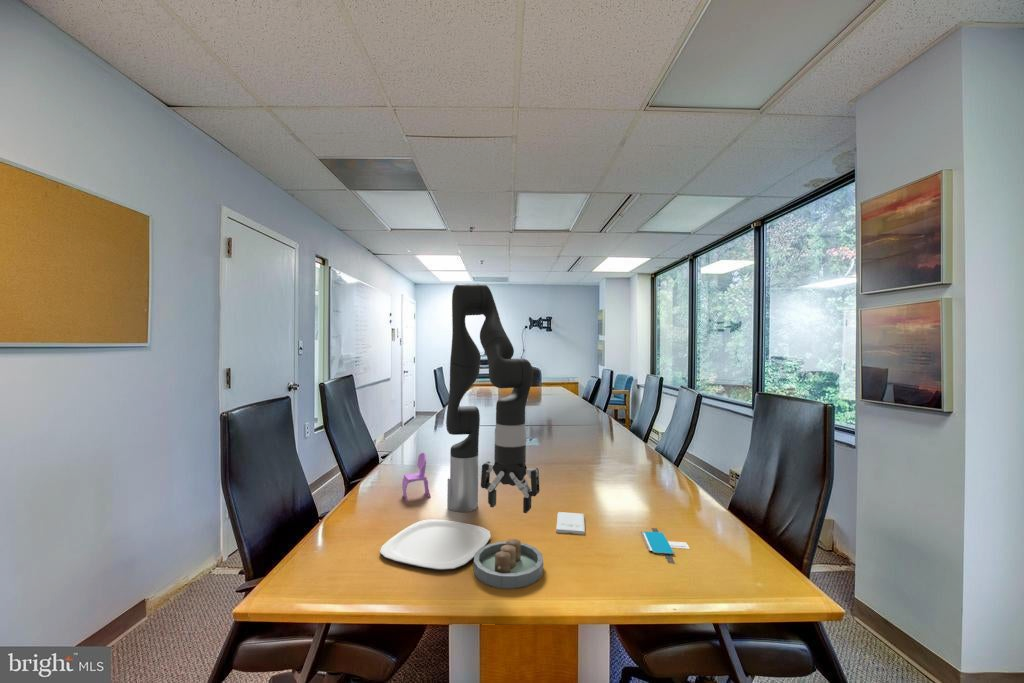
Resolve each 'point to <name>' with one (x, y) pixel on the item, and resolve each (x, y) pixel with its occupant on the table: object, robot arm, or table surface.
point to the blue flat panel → (661, 544)
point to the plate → (436, 544)
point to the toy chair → (417, 476)
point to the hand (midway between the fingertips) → (509, 509)
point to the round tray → (518, 577)
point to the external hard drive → (570, 523)
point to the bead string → (508, 556)
